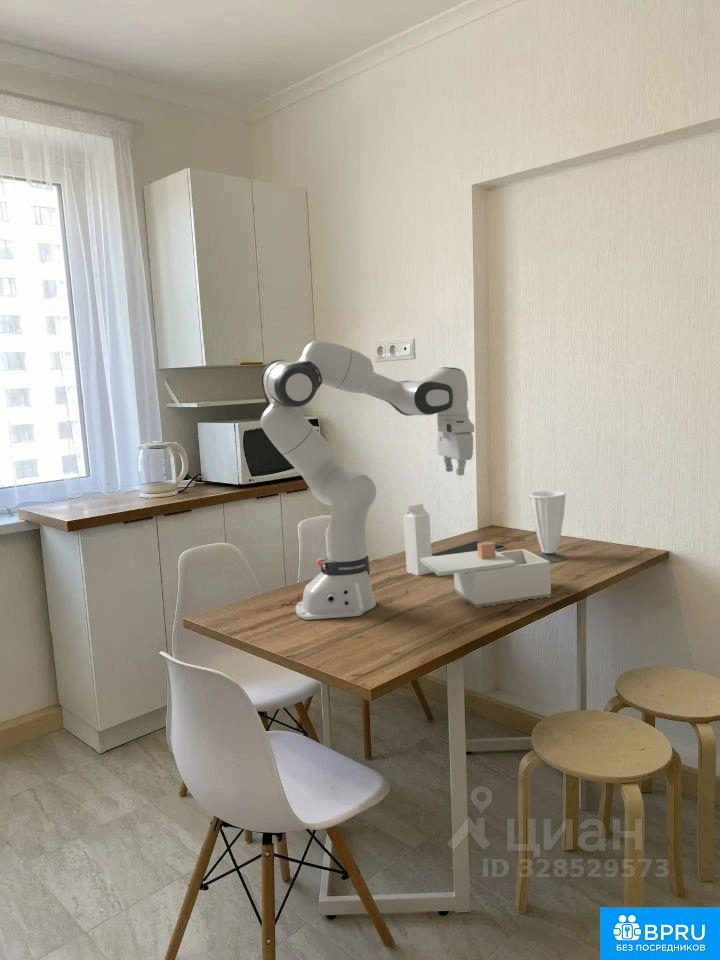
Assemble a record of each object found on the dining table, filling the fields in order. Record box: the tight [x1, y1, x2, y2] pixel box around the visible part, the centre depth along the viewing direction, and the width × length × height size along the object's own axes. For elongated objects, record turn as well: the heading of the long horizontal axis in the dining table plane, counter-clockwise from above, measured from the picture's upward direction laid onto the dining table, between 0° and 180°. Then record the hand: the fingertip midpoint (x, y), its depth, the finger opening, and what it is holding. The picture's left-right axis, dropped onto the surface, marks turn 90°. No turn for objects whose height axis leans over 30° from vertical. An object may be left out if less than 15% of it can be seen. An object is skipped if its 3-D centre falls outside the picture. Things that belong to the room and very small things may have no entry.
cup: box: [529, 490, 568, 564], centre depth 234 cm, size 12×12×22 cm
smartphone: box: [432, 540, 506, 557], centre depth 249 cm, size 13×27×2 cm, turn 131°
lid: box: [420, 541, 516, 577], centre depth 197 cm, size 22×16×5 cm
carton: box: [453, 548, 552, 608], centre depth 200 cm, size 22×16×10 cm
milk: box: [402, 503, 434, 577], centre depth 228 cm, size 6×6×22 cm
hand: (454, 473), depth 204 cm, fingers open, 8 cm apart
